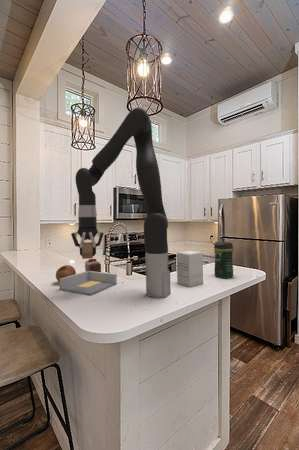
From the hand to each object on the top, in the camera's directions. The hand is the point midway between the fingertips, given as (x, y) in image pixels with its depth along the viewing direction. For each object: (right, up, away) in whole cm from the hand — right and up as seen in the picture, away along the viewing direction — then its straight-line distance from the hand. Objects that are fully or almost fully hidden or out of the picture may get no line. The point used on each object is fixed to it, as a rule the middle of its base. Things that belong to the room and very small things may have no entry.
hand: (88, 255), depth 100 cm
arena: (-1, -15, +7) cm, 17 cm away
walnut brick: (0, -1, 0) cm, 1 cm away
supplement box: (+46, -15, +11) cm, 49 cm away
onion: (-15, -16, +15) cm, 27 cm away
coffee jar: (+66, -14, +23) cm, 71 cm away
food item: (-5, -15, +29) cm, 33 cm away
